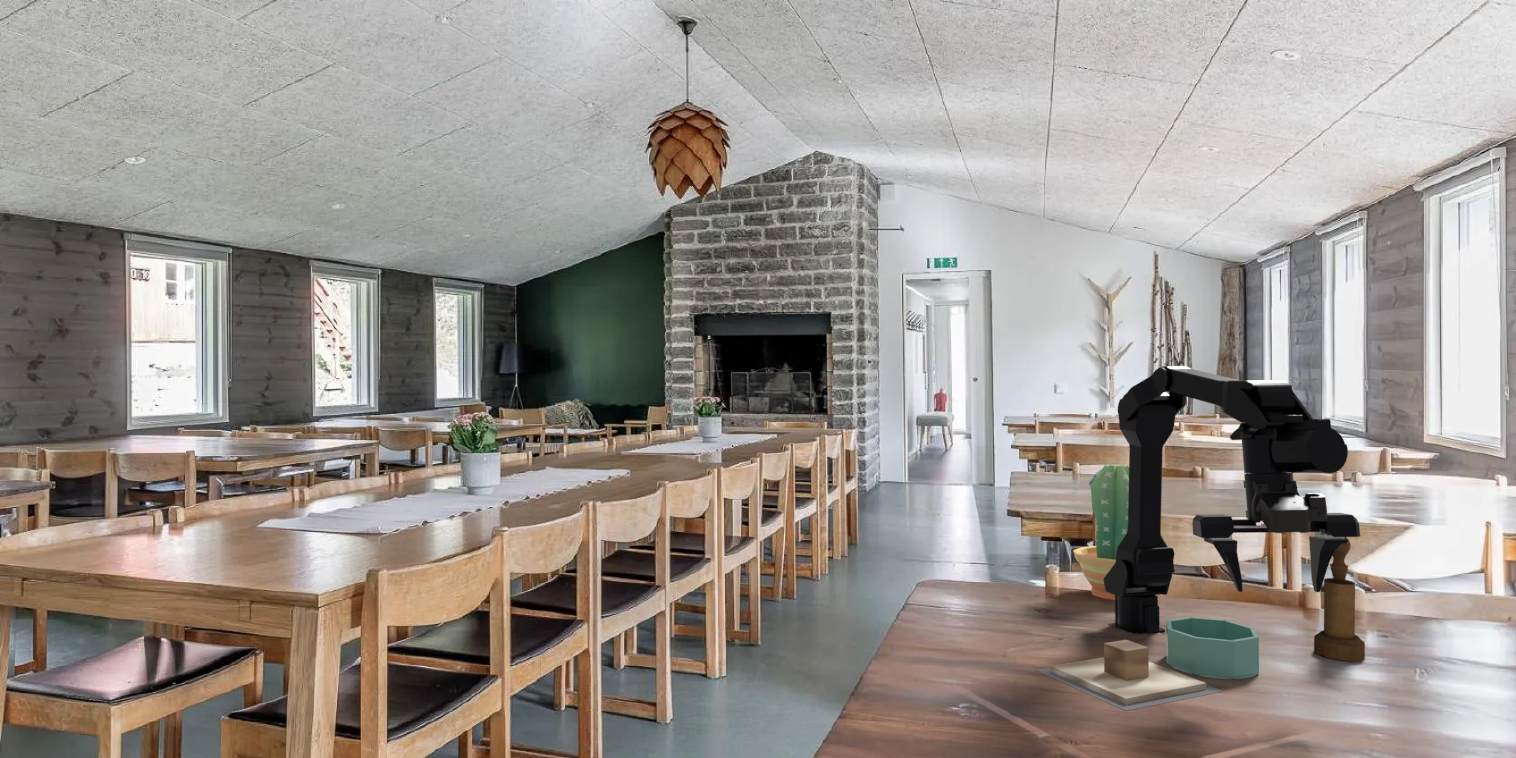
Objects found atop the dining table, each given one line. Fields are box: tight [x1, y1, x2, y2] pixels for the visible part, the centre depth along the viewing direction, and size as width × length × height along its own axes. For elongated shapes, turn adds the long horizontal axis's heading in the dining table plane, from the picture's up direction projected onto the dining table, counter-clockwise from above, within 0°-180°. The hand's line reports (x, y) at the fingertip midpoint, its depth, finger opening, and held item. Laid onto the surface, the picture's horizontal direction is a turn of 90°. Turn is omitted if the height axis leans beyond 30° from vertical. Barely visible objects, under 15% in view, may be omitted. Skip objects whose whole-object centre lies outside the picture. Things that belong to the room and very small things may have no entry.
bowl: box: [1165, 616, 1260, 680], centre depth 130 cm, size 12×12×6 cm
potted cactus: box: [1073, 463, 1129, 601], centre depth 174 cm, size 15×15×25 cm
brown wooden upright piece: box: [1313, 537, 1366, 662], centre depth 136 cm, size 7×6×18 cm
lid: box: [1050, 639, 1207, 705], centre depth 124 cm, size 14×14×5 cm
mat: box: [1035, 666, 1225, 712], centre depth 124 cm, size 17×17×1 cm
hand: (1278, 591), depth 119 cm, fingers open, 9 cm apart
